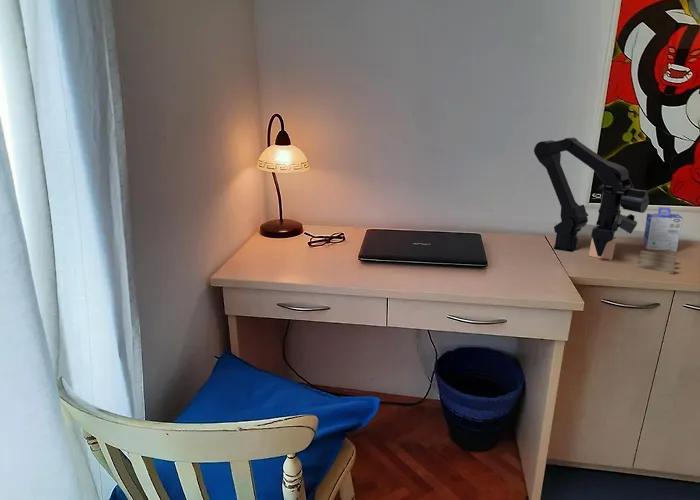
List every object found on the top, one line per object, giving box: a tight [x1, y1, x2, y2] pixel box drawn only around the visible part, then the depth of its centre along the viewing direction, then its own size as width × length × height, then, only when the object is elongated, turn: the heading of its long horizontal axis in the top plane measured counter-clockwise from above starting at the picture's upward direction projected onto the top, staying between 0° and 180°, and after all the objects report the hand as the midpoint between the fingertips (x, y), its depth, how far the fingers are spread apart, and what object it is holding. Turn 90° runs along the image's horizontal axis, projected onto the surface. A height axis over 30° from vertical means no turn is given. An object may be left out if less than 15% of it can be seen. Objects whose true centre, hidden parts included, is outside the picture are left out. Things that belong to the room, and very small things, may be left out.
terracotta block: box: [588, 236, 618, 261], centre depth 176 cm, size 7×2×7 cm, turn 59°
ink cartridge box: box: [642, 206, 683, 253], centre depth 183 cm, size 10×6×14 cm, turn 78°
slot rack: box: [636, 250, 677, 275], centre depth 169 cm, size 10×10×3 cm
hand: (601, 252), depth 176 cm, fingers open, 9 cm apart
